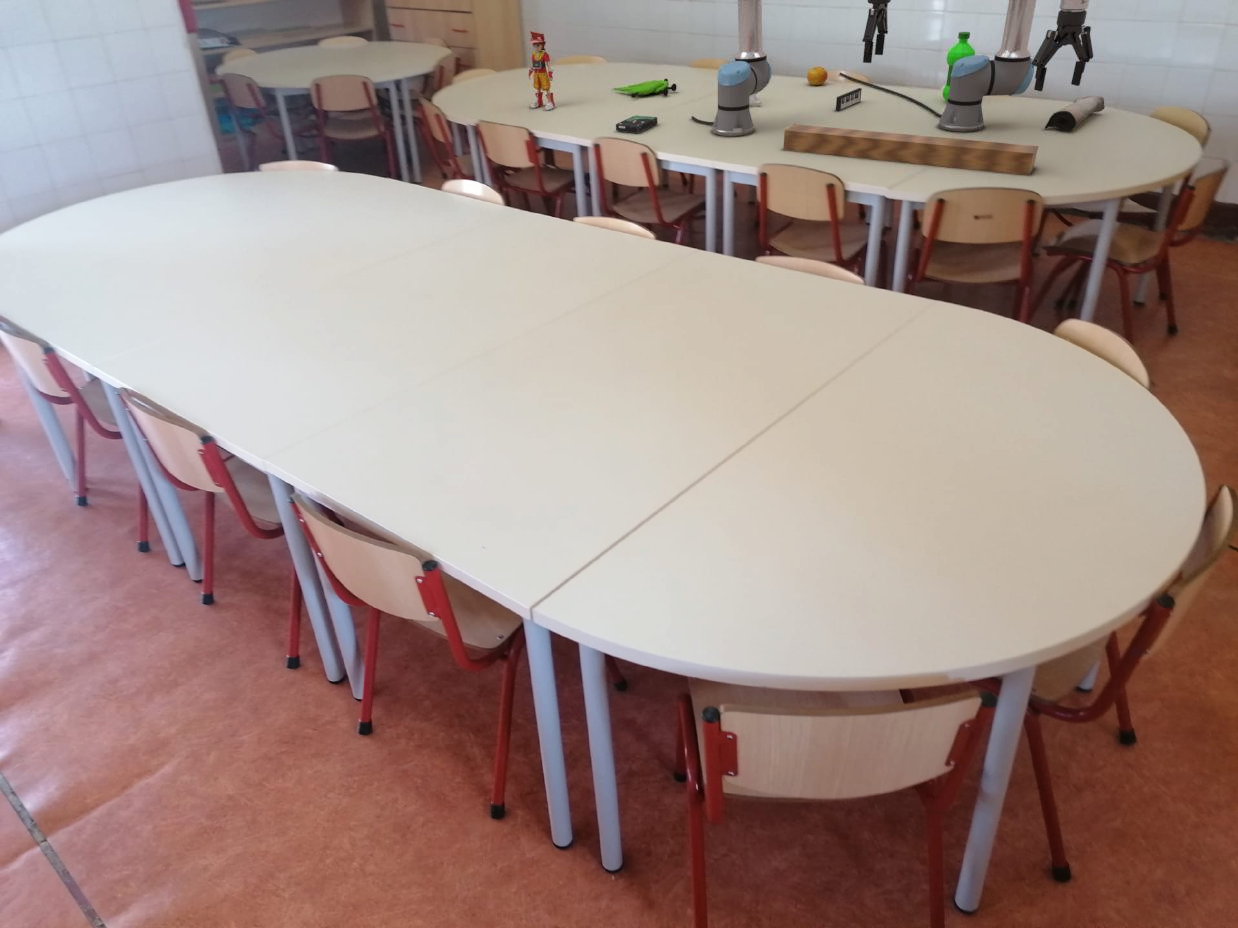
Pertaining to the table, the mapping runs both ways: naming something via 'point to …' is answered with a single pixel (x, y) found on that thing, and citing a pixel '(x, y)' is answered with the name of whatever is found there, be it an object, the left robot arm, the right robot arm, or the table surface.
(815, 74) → the fruit
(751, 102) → the anatomical model
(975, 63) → the right robot arm
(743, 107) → the left robot arm
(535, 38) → the toy
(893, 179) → the table surface
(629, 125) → the disk drive
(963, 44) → the plastic bottle
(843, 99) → the midi keyboard
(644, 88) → the toy
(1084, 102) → the rolled mat
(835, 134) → the slab
